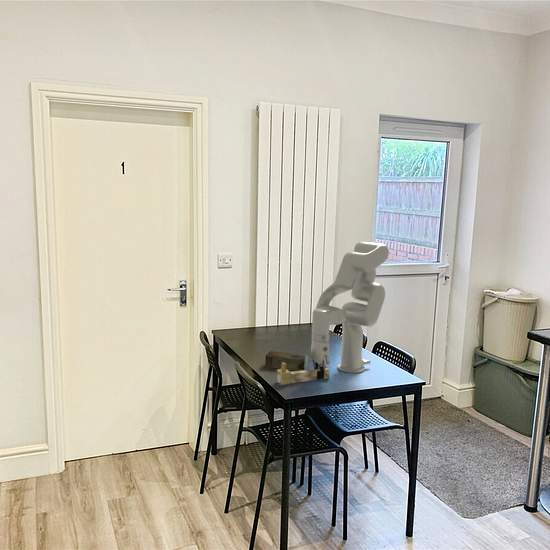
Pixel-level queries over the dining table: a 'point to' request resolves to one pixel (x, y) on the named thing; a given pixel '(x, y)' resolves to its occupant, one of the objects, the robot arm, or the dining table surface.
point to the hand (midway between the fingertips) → (318, 377)
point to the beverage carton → (286, 360)
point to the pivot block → (279, 378)
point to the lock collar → (284, 374)
